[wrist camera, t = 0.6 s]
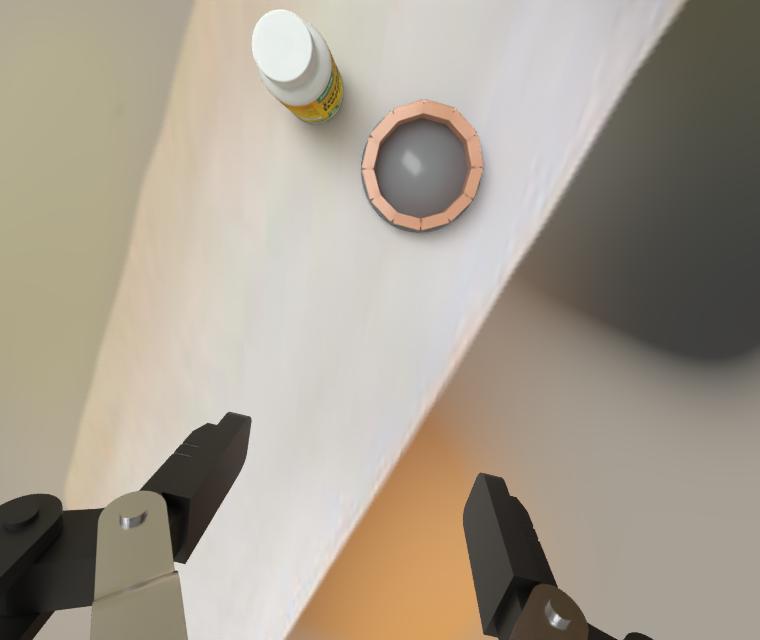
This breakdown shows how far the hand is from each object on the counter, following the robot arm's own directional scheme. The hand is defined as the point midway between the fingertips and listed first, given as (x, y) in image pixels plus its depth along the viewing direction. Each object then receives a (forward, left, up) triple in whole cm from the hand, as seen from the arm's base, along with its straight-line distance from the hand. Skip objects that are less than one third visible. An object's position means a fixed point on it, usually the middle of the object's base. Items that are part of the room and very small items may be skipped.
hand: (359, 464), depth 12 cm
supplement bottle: (-16, -11, -26) cm, 33 cm away
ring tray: (-12, 0, -26) cm, 29 cm away
